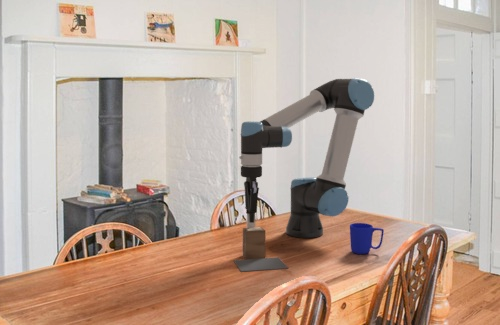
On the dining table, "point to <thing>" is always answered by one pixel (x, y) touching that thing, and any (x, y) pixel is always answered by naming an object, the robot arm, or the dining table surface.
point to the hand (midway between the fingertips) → (250, 230)
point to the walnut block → (253, 243)
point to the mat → (260, 264)
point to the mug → (363, 237)
